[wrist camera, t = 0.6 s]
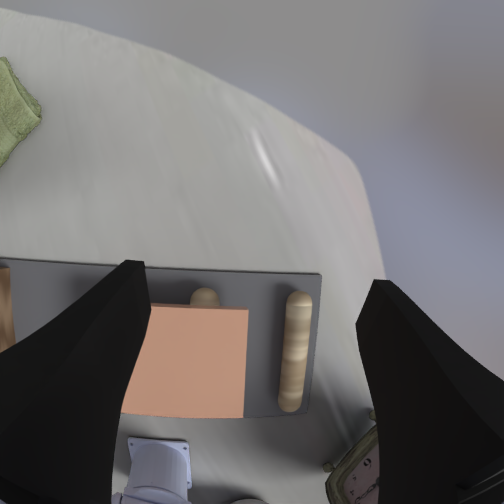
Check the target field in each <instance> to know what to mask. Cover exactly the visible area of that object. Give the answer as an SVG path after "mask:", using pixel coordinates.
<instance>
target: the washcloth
mask: <svg viewBox="0 0 504 504" xmlns="http://www.w3.org/2000/svg"><path fill="white" fill-rule="evenodd" d="M40 111H41V106H40V105H39V104H38V103H37V100H35V99H34V98H33V97H32V96H31V95H30V94H28V92H27V91H26V89H25V88H24V86H22V85H21V84H20V83H19V80H18V78H17V77H16V75H14V74H13V71H12V68H11V67H10V64H9V62H8V61H7V58H5V57H1V58H0V167H1V166H2V165H3V163H4V162H5V161H6V160H7V159H8V157H9V154H10V152H12V150H13V149H14V148H15V147H16V145H17V144H18V143H19V142H20V141H22V140H24V138H26V137H27V134H28V133H30V132H31V130H33V129H34V127H36V126H38V124H39V123H40V121H41V119H42V117H41V114H40Z"/></svg>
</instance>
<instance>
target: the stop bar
mask: <svg viewBox="0 0 504 504" xmlns="http://www.w3.org/2000/svg"><path fill="white" fill-rule="evenodd" d="M14 344H16V339H15V331H14V323H13V313H12V301H11V285H10V268H6V267H0V353H1V352H2V351H4V350H6V349H8V348H9V347H11V346H13V345H14Z"/></svg>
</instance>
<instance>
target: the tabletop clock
mask: <svg viewBox="0 0 504 504" xmlns="http://www.w3.org/2000/svg"><path fill="white" fill-rule="evenodd" d="M369 417H370V419H371V420H375V422H376V416H375V411H374V410H373V411H371V412H370V414H369ZM323 470H324V472H331V471H332V473H331V474H330V475H329V477H328V479H327V481H326V482H325V487H326V494H327V497H328V500H329V503H330V504H378V494H379V445H378V433H377V423H376V425H374V426H373V427H372V428H371V429H370V430H369V431H368V432H367V433H366V434H365V435H364V436H363V437H362V438H361V439H360V440H359V441H358V443H357V444H356V445H355V446H354V447H353V448H352V449H351V450H350V451H349V452H348V453H347V455H346V456H345V457H344V458H343V459H342V460H341V462H340V463H339V464H338V465H337V466H336V467H335V468H333V464H331V463H326V464H324V466H323Z"/></svg>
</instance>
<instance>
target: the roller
mask: <svg viewBox="0 0 504 504" xmlns="http://www.w3.org/2000/svg"><path fill="white" fill-rule="evenodd" d="M311 313H312V299H311V297H310V296H309V294H307V293H306V292H304V291H295V292H293V293H291V294H290V295H289V297H288V298H287V302H286V314H285V327H284V340H283V352H282V363H281V374H280V385H279V395H278V405H279V407H280V408H281V409H282V410H283V411H285V412H293V411H296V410H297V409H298V408H299V407H300V405H301V402H302V395H303V387H304V379H305V371H306V363H307V354H308V344H309V334H310V324H311Z"/></svg>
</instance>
